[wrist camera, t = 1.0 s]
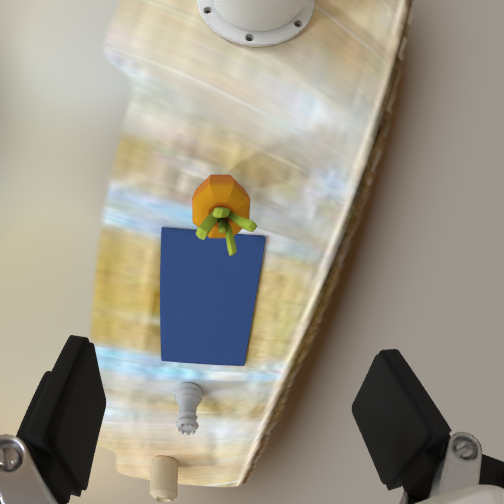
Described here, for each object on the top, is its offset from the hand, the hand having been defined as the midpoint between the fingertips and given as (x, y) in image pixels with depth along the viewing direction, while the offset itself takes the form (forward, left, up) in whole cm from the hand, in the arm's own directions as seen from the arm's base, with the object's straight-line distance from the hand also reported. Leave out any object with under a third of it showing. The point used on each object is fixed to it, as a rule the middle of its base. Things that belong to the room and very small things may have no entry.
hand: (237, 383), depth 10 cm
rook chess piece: (+32, -2, -28) cm, 42 cm away
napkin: (+15, 0, -28) cm, 32 cm away
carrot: (0, 0, -28) cm, 28 cm away
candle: (+57, -7, -28) cm, 64 cm away
